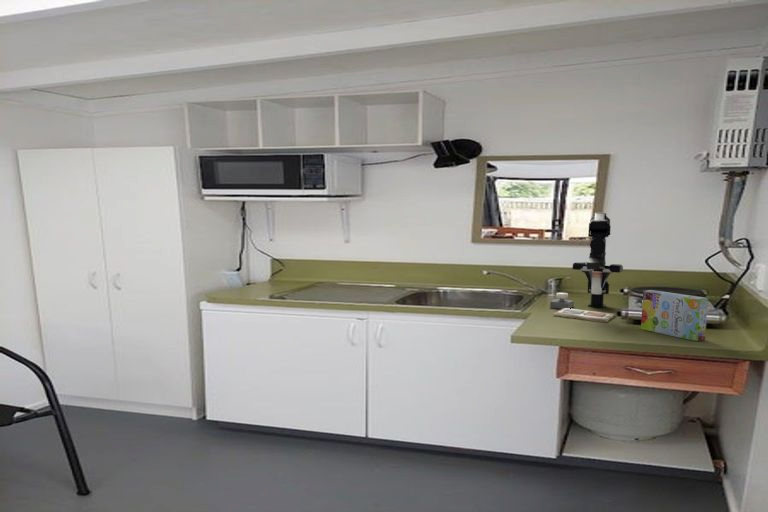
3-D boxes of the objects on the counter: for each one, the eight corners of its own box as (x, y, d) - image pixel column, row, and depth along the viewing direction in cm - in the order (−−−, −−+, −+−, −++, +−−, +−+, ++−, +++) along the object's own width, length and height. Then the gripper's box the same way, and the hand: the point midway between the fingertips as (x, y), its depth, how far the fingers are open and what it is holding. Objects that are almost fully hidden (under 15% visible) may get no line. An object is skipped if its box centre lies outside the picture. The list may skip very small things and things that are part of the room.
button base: (556, 305, 238) (556, 298, 238) (573, 307, 234) (573, 300, 233) (550, 307, 232) (550, 301, 232) (567, 309, 227) (568, 303, 227)
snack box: (706, 340, 176) (708, 297, 175) (697, 342, 174) (699, 299, 172) (648, 327, 195) (650, 288, 193) (639, 329, 192) (641, 290, 190)
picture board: (564, 310, 227) (564, 307, 227) (614, 316, 214) (614, 313, 214) (553, 315, 215) (553, 312, 215) (605, 322, 203) (605, 319, 202)
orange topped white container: (592, 292, 214) (593, 271, 213) (602, 293, 212) (603, 272, 211) (589, 293, 211) (590, 272, 210) (600, 294, 208) (601, 273, 207)
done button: (558, 302, 236) (558, 292, 236) (569, 304, 233) (569, 293, 233) (554, 304, 232) (554, 293, 232) (565, 305, 229) (566, 294, 229)
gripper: (568, 250, 209) (567, 287, 210) (617, 252, 197) (615, 292, 199) (577, 248, 218) (575, 284, 219) (624, 251, 206) (622, 288, 208)
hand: (596, 287), depth 211 cm, fingers closed on orange topped white container, 4 cm apart
